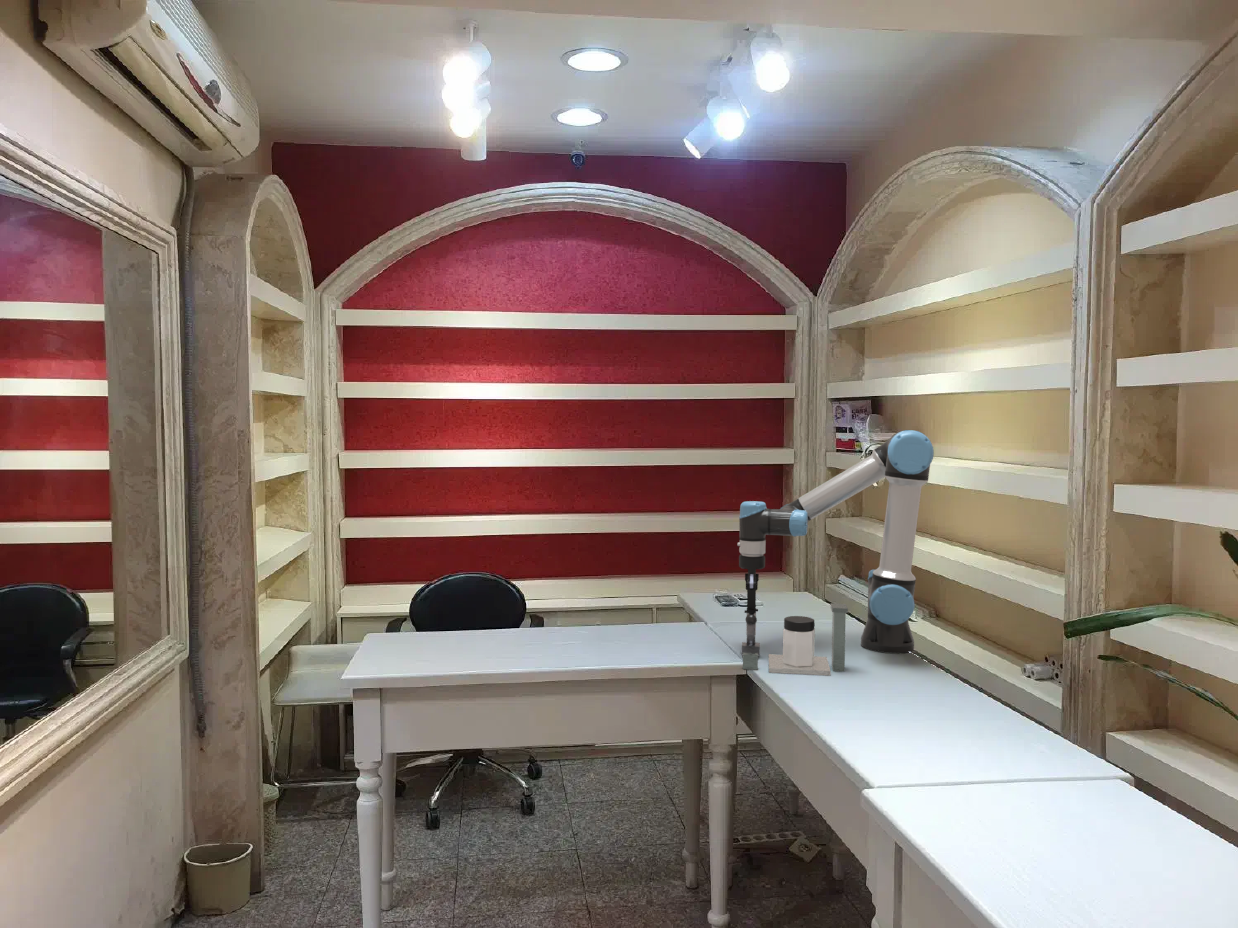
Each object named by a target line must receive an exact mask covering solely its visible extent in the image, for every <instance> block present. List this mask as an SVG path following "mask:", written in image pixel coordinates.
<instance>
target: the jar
mask: <svg viewBox="0 0 1238 928" xmlns="http://www.w3.org/2000/svg"><path fill="white" fill-rule="evenodd" d="M815 627H816V626H815V619H814V618H813V617H809V616H803V615H802V616H801V615H790V616H786V617H784V619H783V629H782V630H783V631H782V641H783V642H782V655H783V663H784V664H788V665H791V666H795V667H802V666H812V664H813V663H814V656H815V646H816V645H815V637H816V634H815V633H816V628H815Z"/></svg>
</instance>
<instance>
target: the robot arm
mask: <svg viewBox="0 0 1238 928" xmlns="http://www.w3.org/2000/svg"><path fill="white" fill-rule="evenodd" d="M934 454H935V453H934V446H933V444H932V442H931V440H930V438H928V436H927V435H925V434H924V433H922V432H920V431H919V430H914V429H913V430H912V429H911V430H910V429H905V430H900V431H898V432H895V433H894V434H893V435H892V436H891V437H890V438H888V439H887V440H886V441H885V442H883V443H882V444H880V445H878V447H875V448H874V449H873V450H872V453H871V455H869V456H868V457H866V458H864V459H862V460H861V461H858V462H857V463H855V464H854V465H851V466H850V467H849V468H847V469H845V470H844V471H842V472H841V473H838V474H837V475H835V476H833V477H832V478H830V479H828V480H827V481H824V482H823V483H822V484H820V485H818V486H817V487H815V488H813V489H811V490H810V491H807V493H805V494H803V495H801V496H800V497H798V498H796V499H794V500H792V501H791V502H790V503H787V504H785V505H783V506H781V507H780V509H777V508H776V509H775V508H773V509H772V508H767V504H766V502H764V501H757V500H756V501H754V500H752V501H751V500H749V501H748V500H747V501H743V502H742V503H741V504H740V508H739V520H738V521H739V526H738V527H739V528H738V529H739V530H738V531H739V542H737V547H739V549H738V551H739V553H740V554H739V556H738V567H739V568H741V569H744V570H746V569H747V572H745V573H744V581H745V590H746V593H747V594H746V609H744V613H745V614H746V616H747V615H749V614H753V615H755V616H756V617H757V612H758V611H759V609H758V608H756V607H757V605H756V604H757V601H756V600H757V596H756V595H757V594H756V593H757V590H758V588H759V587H758V585H759V581H760V580H759V578H760V577H759V574H760V573H756V572H757V570H762V569H765V567H766V556H765V554H766V543H767V542H766V541H767V539H766V535H767V536H789V537H795V538H796V537H804V536H805V537H806V536H807V534H808V523H809V522H810V521H811V520H813V519H815V518H817V517H819V516H820V515H822V514H824V513H826V512H828V511H829V510H831V509H832V508H834V507H836V506H837V505H839V504H841V503H842V502H843V503H844V501H846V500H848V499H850V498H851V497H853V496H855V495H856V494H858V493H860V492H862V491H863V490H865V489H867V488H868V487H870V486H872V485H874V484H876V483H877V482H879V481H881V480H883V479H884V478H885V479H886V480H887V481H888V483H889V484H888V492H887V499H886V509H885V516H884V523H883V525H884V526H883V533H882V534H883V535H882V539H881V541H882V542H881V549H880V557H879V565H878V567H877V568H876V569H871V570H869V571H868V577H867V582H868V583H867V584H868V585H867V618H866V619H867V620H866V624H865V626H864V628H863V631H862V634H861V637H860V646H861V647H863V648H864V649H866V650H869V651H874V652H878V653H879V652H880V653H885V654H889V653H890V654H900V653H901V654H902V653H909V652H912V651H914V650H915V640H914V636H913V633H912V630H911V627H910V624H909V619H910V618H911V616H913V613H914V611H915V607H916V605H915V598H914V596H915V588H916V580H917V579H916V576H915V574H913V573H912V565H913V558H914V550H915V541H916V536H917V535H916V534H917V525H918V524H917V523H918V518H919V517H918V516H919V510H920V503H921V502H920V501H921V495H922V493H921V492H922V487H923V486H924V485H926V484H927V483H928V482H929V477H930V468H931V464H932V462H933V460H934ZM745 623H746V622H745ZM745 629H746V630H745V631H746V632H745V634H746V636H747V623H746V628H745ZM756 629H757V623H756V624H755V636H756V634H757V630H756Z"/></svg>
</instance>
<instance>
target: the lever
mask: <svg viewBox="0 0 1238 928" xmlns="http://www.w3.org/2000/svg"><path fill="white" fill-rule="evenodd" d="M757 622H758V619H757V615H756V616H755V615H753V614H749V615H747V614H746V616H745V623H747V635H746V642H744V641H742V642H741V655H743V653H758V656H760V654H761V653H760V651H761V647H760V646H761V644H760V642H756V635H755V624H756V625H757Z"/></svg>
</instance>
